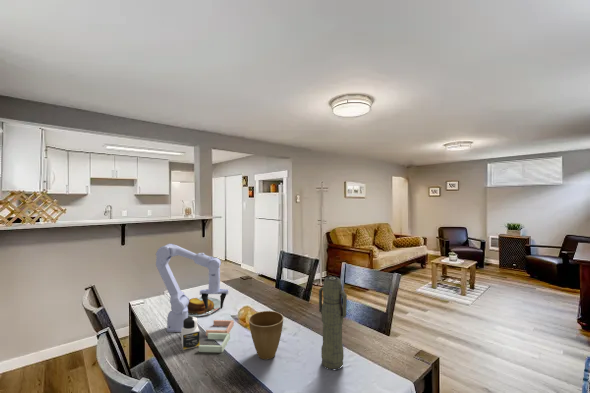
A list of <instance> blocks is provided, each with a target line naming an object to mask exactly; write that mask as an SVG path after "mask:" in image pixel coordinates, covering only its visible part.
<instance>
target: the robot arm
mask: <svg viewBox="0 0 590 393" xmlns="http://www.w3.org/2000/svg"><path fill="white" fill-rule="evenodd" d="M176 256H180V257H183V258H186V259H189V260H192V261H193V262H194V264H196V265H199V266H201V267H204V268H207V270H208V288H207V289H200V290H199V295H201V296H200V297H201V298H202V300H203V302H204V304H205V309H207V308H208V297H209V295H220V296H219V300H220V301H221V305H220V308H219V309H222V308H223V307H224V302H225V299H226V296H227V295H229V293H230V292H229V291H230V290H229V289H225V288H221V268H220V267H221V265H222V261H221V259H220V258H218V257H216V256H211V255H207V254H205V252H198V253H196V252H193V251H191V250H189V249H186V248H184V247H181V246H179V245H177V244H174V243H166V245H163V246H160V247H159V248H158V249H157V251H156V253H155V257H156V259H155V266H156V268H157V269H156V270H158V273H159V275H160V277H161V279H162V281H163V284H164V286H165V288H166V290H167V292H168V295H169V297H170V299H169V304H170V309H171V310H170V311H169V312H168V314H167V318H166V319H167V320H166V322H167V324H166V326H167V328H166V332H169V333H171V332H173V333H174V332H175V333H181V329H182V328H183V321H184V320H185V319H186V318H188V317H189V316H188V314H189V313H188V308H187V305H188V304H189V300H190V298H189V296H187V295H186V294H185V292H184V291H182V290H181V288H180V286H179V284H178V282H177V279H176V278H175V276H174V273H173V271H172V269H171V266H170V264H169V263H170V261H171V258H173V257H176Z"/></svg>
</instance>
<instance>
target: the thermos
mask: <svg viewBox="0 0 590 393" xmlns="http://www.w3.org/2000/svg"><path fill="white" fill-rule="evenodd" d="M342 288H343V286H342V282H341V279H340V277H337V276H331V275H330V276H327V277H325V278H324V281H323V284H322V287H320V288H319V290H318V311H319V313H320V315H321V322H322V345H321V351H320V353H321V356H320V357H321V365H322V366H323V367H324V368H325V367H326V368H325V369H327V368H328V369H327V370H329V369H338V368H340V367H341V366H342V365H343V366H344V346H343V323H344V318H345V317H347V303H348V302H347V299H348V297H347V293H346V292H345V291H344V290H342ZM338 370H339V369H338Z"/></svg>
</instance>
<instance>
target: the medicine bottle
mask: <svg viewBox="0 0 590 393" xmlns="http://www.w3.org/2000/svg"><path fill="white" fill-rule="evenodd" d="M180 334H181V336H180V337H181V338H180V340H181V342H180V343H181V347H182V350H183V351H184V350H189V349H193V348H197V347H198V348H199V345H201V340H200V339H201V335H200V334H201V332H200V327H199V326H198V318H197V316H194V317H193V316H188V318H186V319H185V320H184V321H183V328H182V329H181V332H180Z"/></svg>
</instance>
